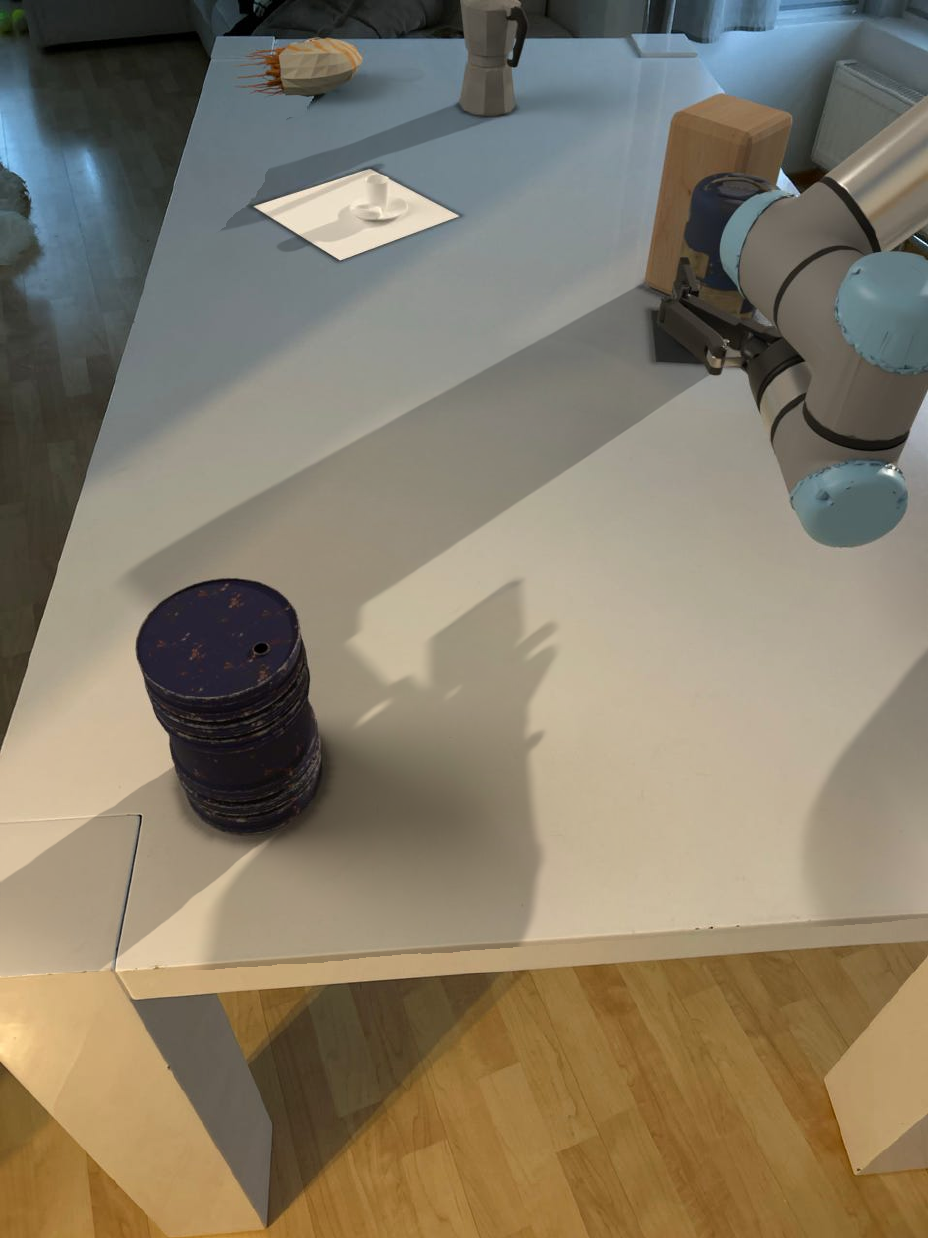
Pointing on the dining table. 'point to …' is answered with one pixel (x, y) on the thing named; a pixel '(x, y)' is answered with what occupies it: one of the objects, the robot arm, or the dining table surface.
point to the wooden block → (710, 166)
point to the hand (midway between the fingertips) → (750, 270)
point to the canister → (718, 236)
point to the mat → (671, 346)
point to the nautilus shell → (308, 67)
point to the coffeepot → (491, 54)
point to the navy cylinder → (234, 702)
